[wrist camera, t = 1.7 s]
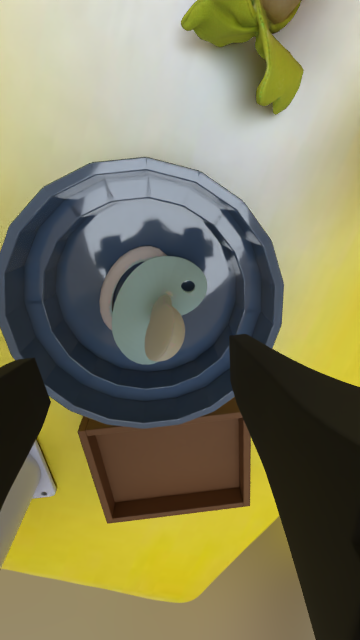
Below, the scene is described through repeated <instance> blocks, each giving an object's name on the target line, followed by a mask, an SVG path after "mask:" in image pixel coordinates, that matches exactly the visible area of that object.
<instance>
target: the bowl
mask: <svg viewBox="0 0 360 640" xmlns="http://www.w3.org/2000/svg"><path fill="white" fill-rule="evenodd" d="M140 246H152V247H155V248H158V249H160V250H161V251H162V252H164V253H165V254H166V255H167V256H175V257H181V258H184V259H187V260H189V261H191V262H192V263H194V264H195V265H196V266H198V267H199V268H200V269H201V271H202V272H203V273H204V275H205V277H206V280H207V292H206V295H205V297H204V299H203V300H202V302H201V303H200V304H199V305H198V306H197V307H196V308H195V309H193V310H192V311H190V312H189V313H187V314H185V315H182V318H183V321H184V325H185V337H184V341H183V344H182V346H181V348H180V349H179V351H178V352H177V353H176V354H175V355H174V356H173V357H171V358H170V359H168V360H165V361H159V362H156V363H154V364H149V365H148V364H139V363H136V362H134V361H131V360H130V359H129V358H127V357H126V356H125V355H124V354H123V353H122V352H121V350H120V348H119V347H118V346H117V344H116V342H115V340H114V336H113V333H112V330H110V329H109V328H108V327H107V325H106V324H105V323H104V321H103V318H102V316H101V313H100V303H99V300H100V293H101V288H102V285H103V283H104V280H105V277H106V276H107V274H108V272H109V270H110V269H111V267H112V266H113V265H114V264H115V262H116V261H117V260H118V259H119V258H120V257H121V256H123V255H124V254H125V253H127V252H128V251H130V250H132V249H135V248H137V247H140ZM145 262H146V261H145ZM142 263H144V262H140V263H137V264H135V265H133V266H132V267H131V268H129V269H128V270H127V271H126V272H125V273H124V274H123V275H122V277H121V278H120V280H119V282H118V283H117V286H116V289H115V292H114V297H113V307H114V304H115V301H116V298H117V295H118V293H119V291H120V289H121V287H122V285H123V283H124V282H125V280H126V279H127V277H128V276H129V275H130V274H131V273H132V272H133V271H134V270H135V269H136V268H137V267H138V266H140V265H141V264H142ZM283 283H284V282H283V279H282V275H281V272H280V268H279V265H278V261H277V258H276V254H275V251H274V247H273V244H272V241H271V239H270V238H269V236H268V235H267V233H266V232H265V231H264V229H263V228H262V226H261V225H260V224H259V222H258V221H257V219H256V218H255V217H254V215H253V214H252V212H251V211H250V210H249V208H248V207H247V205H246V204H245V203H244V202H243V201H242V200H241V199H240V198H238V197H237V196H235V195H234V194H233V193H231V192H230V191H228V190H227V189H225V188H224V187H222V186H221V185H220V184H218V183H217V182H215V181H214V180H212V179H211V178H209V177H208V176H207V175H205V174H204V173H202V172H200V171H198V170H194V169H191V168H187V167H183V166H179V165H175V164H172V163H168V162H164V161H160V160H156V159H153V158H149V157H147V158H146V157H140V158H130V159H120V160H110V161H100V162H92V163H89V164H87V165H85V166H83V167H81V168H79V169H77V170H75V171H73V172H71V173H69V174H67V175H65V176H63V177H61V178H59V179H58V180H56V181H54V182H52V183H50V184H48V185H46V186H44V188H42V189H41V190H40V191H39V192H38V193H37V194H36V195H35V197H34V198H33V199H32V200H31V201H30V202H29V203H28V205H27V206H26V207H25V208H24V209H23V210H22V212H21V213H20V214H19V215H18V216H17V217H16V218H15V220H14V221H13V222H12V223H11V224H10V226H9V228H8V231H7V234H6V237H5V240H4V243H3V246H2V249H1V251H0V328H1V331H2V333H3V336H4V338H5V341H6V343H7V346H8V348H9V351H10V353H11V355H12V357H13V358H14V359H15V360H18V359H26V358H35V359H36V362H37V365H38V368H39V371H40V373H41V376H42V379H43V382H44V385H45V387H46V390H47V393H48V396H50V397H51V398H53V399H54V400H55V401H57V402H58V403H60V404H61V405H63V406H64V407H65V408H67V409H68V410H70V411H72V412H75V413H77V414H80V415H83V416H85V417H88V418H90V419H93V420H96V421H98V422H101V423H104V424H107V425H115V426H123V427H132V428H140V429H147V428H155V427H164V426H172V425H179V424H183V423H185V422H188V421H191V420H193V419H196V418H198V417H201V416H204V415H206V414H209V413H212V412H214V411H216V410H217V409H218V408H220V407H221V406H223V405H224V404H225V403H227V402H228V401H230V400H231V399H232V398H234V397H235V396H234V393H233V389H232V385H231V382H230V348H229V336H231V335H240V334H247V335H249V336H251V337H253V338H254V339H256V340H258V341H260V342H261V343H263V344H265V345H266V346H268V347H270V348H273V345H274V343H275V340H276V338H277V335H278V332H279V330H280V327H281V324H282V308H283V291H284V284H283ZM194 287H195V284H194V283H193V282H192V281H189V280H187V281H184V282H183V283H182V284H181V288H182V289H183V290H184V291H191V290H193V289H194Z"/></svg>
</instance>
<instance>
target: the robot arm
mask: <svg viewBox="0 0 360 640" xmlns="http://www.w3.org/2000/svg"><path fill="white" fill-rule="evenodd" d="M229 348H230V382H231V385H232V389H233V393H234V396H235V399H236V403H237V406H238V408H239V410H240V413H241V415H242V417H243V420H244V422H245V424H246V427H247V429H248V431H249V433H250V436H251V438H252V440H253V443H254V445H255V447H256V449H257V452H258V454H259V456H260V459H261V461H262V464H263V466H264V469H265V471H266V474H267V478H268V481H269V484H270V487H271V490H272V493H273V496H274V499H275V502H276V505H277V509H278V512H279V515H280V518H281V521H282V525H283V528H284V531H285V534H286V537H287V541H288V544H289V547H290V551H291V554H292V558H293V561H294V564H295V568H296V571H297V574H298V578H299V581H300V585H301V588H302V592H303V596H304V599H305V603H306V606H307V610H308V613H309V617H310V621H311V624H312V628H313V631H314V635H315V638H316V640H360V387H357V386H354V385H351V384H348V383H345V382H343V381H340V380H337V379H335V378H332V377H330V376H327V375H325V374H322V373H320V372H317V371H315V370H313V369H310V368H308V367H306V366H304V365H302V364H300V363H298V362H296V361H294V360H292V359H290V358H288V357H286V356H284V355H282V354H281V353H279V352H277V351H275V350H273V349H272V348H270V347H268V346H266V345H265V344H263V343H261V342H260V341H258V340H256V339H254V338H253V337H251V336H249V335H247V334H240V335H231V336H229ZM50 403H51V401H50V399H49V396H48V393H47V390H46V387H45V385H44V382H43V379H42V376H41V373H40V371H39V368H38V365H37V362H36V359H35V358H26V359H18V360H15V361H13V362H11V363H8V364H6V365H4V366H2V367H0V569H1V567H2V565H3V563H4V560H5V558H6V556H7V554H8V551H9V549H10V547H11V545H12V542H13V540H14V538H15V536H16V533H17V531H18V529H19V527H20V524H21V522H22V520H23V518H24V515H25V513H26V511H27V509H28V506H29V504H30V502H31V500H32V499H33V498H41V497H49V496H53V495H55V493H56V486H55V484H54V482H53V479H52V477H51V474H50V472H49V469H48V467H47V464H46V462H45V460H44V457H43V455H42V452H41V450H40V447H39V445H38V443H37V440H36V439H37V437H38V435H39V433H40V430H41V428H42V426H43V423H44V421H45V418H46V415H47V412H48V409H49V406H50Z"/></svg>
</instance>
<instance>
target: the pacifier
mask: <svg viewBox="0 0 360 640" xmlns="http://www.w3.org/2000/svg"><path fill="white" fill-rule="evenodd" d="M145 261H146V262H145ZM140 262H144V263H142V264H141V265H140V266H138V267H137V268H136V269H135V270H134V271H133V272H132V273H131V274H130V275H129V276H128V277H127V279H126V280H125V282H124V283H123V285H122V287H121V289H120V291H119V293H118V295H117V298H116V301H115V304H114V307H113V297H114V292H115V289H116V286H117V283H118V282H119V280H120V278H121V277H122V275H123V274H124V273H125V272H126V271H127V270H128V269H129V268H131V267H132V266H133V265H135V264H137V263H140ZM187 280H189V281H192V282H193V283H194V284H195V287H194V289H193V290H191V291H184V290H183V289H182V288H181V284H182V283H183V282H184V281H187ZM206 292H207V280H206V277H205V275H204V273H203V272H202V271H201V269H200V268H199V267H198V266H196V265H195V264H194V263H192V262H191V261H189V260H187V259H184V258H181V257H175V256H167V255H166V254H165V253H164V252H162V251H161V250H160V249H158V248H155V247H152V246H140V247H137V248H135V249H132V250H130V251H128V252H127V253H125V254H124V255H123V256H121V257H120V258H119V259H118V260H117V261H116V262H115V264H114V265H113V266H112V267H111V269H110V270H109V272H108V274H107V276H106V277H105V280H104V283H103V285H102V288H101V293H100V300H99V303H100V313H101V316H102V318H103V321H104V323H105V324H106V325H107V327H108V328H109V329H110V330H112V333H113V336H114V340H115V342H116V344H117V346H118V347H119V348H120V350H121V352H122V353H123V354H124V355H125V356H126V357H127V358H129V359H130V360H131V361H134V362H136V363H139V364H148V365H149V364H154V363H156V362H159V361H165V360H168V359H170V358H171V357H173V356H174V355H175V354H176V353H177V352H178V351H179V349H180V348H181V346H182V344H183V341H184V337H185V325H184V321H183V318H182V315H185V314H187V313H189V312H190V311H192V310H193V309H195V308H196V307H197V306H198V305H199V304H200V303H201V302H202V300H203V299H204V297H205V295H206Z"/></svg>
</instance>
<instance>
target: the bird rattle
mask: <svg viewBox="0 0 360 640" xmlns="http://www.w3.org/2000/svg"><path fill="white" fill-rule="evenodd" d="M301 1H302V0H197V1H196V2H195V3H194V4H193V5H192V6H191V8H190V9H189V10H188V11H187V13H186V14H185V15H184V17H183V18H182V21H181V25H182V27H183V29H185V30H186V31H191V30H194V31H195V33H196V34H197V36H198V37H199V38H200V39H202V40H205V41H208V42H210V43H212V44H214V45H215V46H218V47H223V46H226V45H228V44H230V43H244V42H247V41H249V40H250V39H251V38H252V37H256V41H255V48H256V51H257V52H258V54H259V55H260V57H261V58H263V59H264V60H266V63H267V68H266V72H265V75H264V77H263V79H262V81H261V82H260V84H259V86H258V88H257V91H256V102H257V104H259V105H261V106H267V105H269V104H271V103H272V102H273V103H272V106H273V113H274V114H275V115H276V114H278V113H280V112H281V111H283V110H284V109H286V108H287V106H288V105H289V104H290V103H291V101H292V99H293V98H294V96H295V94H296V92H297V91H298V89H299V86H300V83H301V79H302V75H303V68H302V67H301V65H300V64H299V63H298V62H297V61H296V60H295V59H294V58H293V56H292V55H291V54H290V52H289V51H288V50H287V49H285V48H284V47H283V46H282V45H281V44H280V43H279V42H278V41H277V40H276V39H275V38H274V36H273V35H272V34H273V33H276V32H278V31H280V30H281V29H283V28H284V27H285V26H286V25H287V24H288V22H290V21H291V19H292V18H293V17H294V15H295V14H296V12H297V10H298V8H299V6H300V3H301Z"/></svg>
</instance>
